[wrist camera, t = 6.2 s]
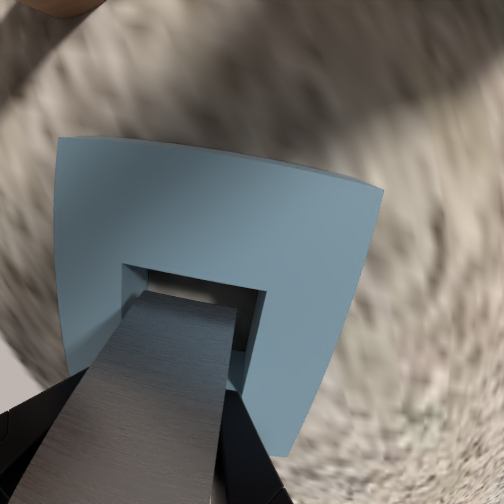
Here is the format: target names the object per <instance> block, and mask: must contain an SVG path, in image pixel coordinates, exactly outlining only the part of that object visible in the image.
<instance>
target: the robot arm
mask: <svg viewBox="0 0 504 504" xmlns="http://www.w3.org/2000/svg"><path fill="white" fill-rule="evenodd" d="M89 367H90V366H89ZM89 367H87V368H85V369H83V370H82V371H80V372H78V373H76V374H74V375H73V376H71V377H69V378H67V379H65V380H63V381H62V382H60V383H58V384H56V385H54V386H52V387H51V388H49V389H47V390H45V391H43V392H41V393H39V394H38V395H36V396H34V397H32V398H30V399H28V400H27V401H25V402H23V403H21V404H19V405H17V406H15V407H13V408H11V409H10V410H9V411H6V412H4V413H2V414H0V504H8V502H9V500H10V499H11V497H12V495H13V493H14V491H15V489H16V487H17V485H18V484H19V482H20V480H21V478H22V476H23V475H24V473H25V471H26V469H27V467H28V466H29V464H30V462H31V460H32V459H33V457H34V455H35V453H36V452H37V450H38V448H39V447H40V445H41V443H42V441H43V440H44V438H45V436H46V435H47V433H48V431H49V430H50V428H51V427H52V425H53V423H54V422H55V420H56V418H57V417H58V415H59V414H60V412H61V410H62V409H63V407H64V406H65V404H66V402H67V401H68V399H69V398H70V396H71V395H72V393H73V392H74V390H75V388H76V387H77V385H78V384H79V382H80V381H81V379H82V378H83V376H84V375H85V373H86V372H87V370H88V369H89ZM283 487H284V485H283V483H282V481H281V479H280V477H279V475H278V473H277V471H276V469H275V467H274V465H273V463H272V461H271V459H270V457H269V455H268V453H267V451H266V449H265V447H264V445H263V443H262V441H261V438H260V436H259V434H258V432H257V430H256V428H255V426H254V424H253V421H252V419H251V417H250V415H249V413H248V411H247V408H246V406H245V404H244V402H243V400H242V397H241V395H240V393H239V392H238V391H235V390H229V389H225V396H224V403H223V410H222V417H221V424H220V431H219V439H218V446H217V453H216V460H215V467H214V474H213V482H212V489H211V504H294V503H293V502H292V500H291V498H290V496H289V494H288V492H287V490H286V489H285V488H283Z"/></svg>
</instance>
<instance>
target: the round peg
mask: <svg viewBox="0 0 504 504" xmlns="http://www.w3.org/2000/svg"><path fill="white" fill-rule="evenodd" d="M16 1H18V2H20V3H23V4H25V5H27V6H30V7H32V8H34V9H36V10H39V11H41V12H43V13H45V14H47V15H50V16H52V17H54V18H60V19H65V18H72V17H76V16H79V15H82V14H84V13H86V12H89V11H90V10H92V9H94V8H96V7H97V6H99V5H100V4H102V3H103V2H105V1H106V0H16Z"/></svg>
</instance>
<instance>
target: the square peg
mask: <svg viewBox="0 0 504 504" xmlns="http://www.w3.org/2000/svg"><path fill="white" fill-rule="evenodd" d="M236 313H237V308H231V307H226V306H221V305H215V304H210V303H205V302H200V301H195V300H190V299H185V298H180V297H175V296H170V295H165V294H161V293H156V292H151V291H147V290H144V291H143V292H142V293H141V295H140V296H139V297H138V299H137V300H136V301H135V303H134V304H133V306H132V307H131V308H130V310H129V311H128V313H127V314H126V315H125V317H124V318H123V319H122V321H121V322H120V324H119V325H118V327H117V328H116V329H115V331H114V332H113V334H112V335H111V336H110V338H109V339H108V341H107V342H106V344H105V345H104V347H103V348H102V350H101V351H100V352H99V354H98V355H97V357H96V358H95V360H94V361H93V363H92V364H91V366H90V367H89V369H88V370H87V372H86V373H85V375H84V376H83V378H82V379H81V381H80V382H79V384H78V385H77V387H76V388H75V390H74V392H73V393H72V395H71V396H70V398H69V399H68V401H67V402H66V404H65V406H64V407H63V409H62V410H61V412H60V414H59V415H58V417H57V418H56V420H55V422H54V423H53V425H52V427H51V428H50V430H49V431H48V433H47V435H46V436H45V438H44V440H43V441H42V443H41V445H40V447H39V448H38V450H37V452H36V453H35V455H34V457H33V459H32V460H31V462H30V464H29V466H28V467H27V469H26V471H25V473H24V475H23V476H22V478H21V480H20V482H19V484H18V485H17V487H16V489H15V491H14V493H13V495H12V497H11V499H10V500H9V502H8V504H210V496H211V489H212V482H213V474H214V467H215V460H216V453H217V446H218V439H219V431H220V424H221V417H222V410H223V403H224V396H225V389H226V382H227V375H228V368H229V361H230V354H231V348H232V341H233V334H234V327H235V320H236Z"/></svg>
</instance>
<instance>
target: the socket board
mask: <svg viewBox="0 0 504 504" xmlns="http://www.w3.org/2000/svg"><path fill="white" fill-rule="evenodd" d="M383 193H384V190H382V189H380V188H378V187H375V186H373V185H371V184H368V183H366V182H364V181H361V180H359V179H356V178H353V177H349V176H345V175H341V174H337V173H332V172H328V171H324V170H320V169H315V168H311V167H306V166H302V165H297V164H292V163H287V162H283V161H278V160H273V159H267V158H262V157H257V156H251V155H246V154H240V153H234V152H228V151H222V150H216V149H210V148H203V147H196V146H189V145H182V144H174V143H166V142H158V141H149V140H139V139H129V138H118V137H106V136H82V137H59V138H58V146H57V157H56V170H55V187H54V258H55V275H56V288H57V299H58V308H59V317H60V324H61V331H62V338H63V344H64V350H65V356H66V362H67V367H68V372H69V377H71V376H73V375H74V374H76V373H78V372H80V371H82V370H83V369H85V368H87V367H89V366H91V364H92V363H93V361H94V360H95V358H96V357H97V355H98V354H99V352H100V351H101V350H102V348H103V347H104V345H105V344H106V342H107V341H108V339H109V338H110V336H111V335H112V334H113V332H114V331H115V329H116V328H117V327H118V325H119V324H120V322H121V321H122V319H123V318H124V317H125V315H126V314H127V313H128V311H129V310H130V308H131V307H132V306H133V304H134V303H135V301H136V300H137V299H138V297H139V296H140V295H141V293H142V292H143V291H144V290H148V272H149V269H153V270H158V271H163V272H168V273H173V274H178V275H183V276H188V277H193V278H198V279H203V280H208V281H214V282H219V283H224V284H230V285H235V286H241V287H246V288H252V289H257V290H259V292H258V296H257V301H256V306H255V310H254V315H253V319H252V324H251V328H250V333H249V337H248V342H247V346H246V351H245V352H243V351H237V350H231V354H230V361H229V368H228V375H227V382H226V389H229V390H235V391H238V392H239V393H240V395H241V397H242V400H243V402H244V404H245V406H246V408H247V411H248V413H249V415H250V417H251V419H252V421H253V424H254V426H255V428H256V430H257V432H258V434H259V436H260V438H261V441H262V443H263V445H264V447H265V449H266V451H267V453H268V455H269V456H279V457H287V456H288V454H289V452H290V450H291V448H292V446H293V444H294V442H295V440H296V437H297V435H298V433H299V431H300V429H301V427H302V425H303V423H304V420H305V418H306V416H307V414H308V412H309V409H310V407H311V405H312V402H313V400H314V398H315V396H316V393H317V391H318V389H319V386H320V384H321V381H322V379H323V377H324V374H325V372H326V369H327V367H328V364H329V362H330V359H331V357H332V354H333V352H334V349H335V346H336V344H337V341H338V338H339V336H340V333H341V330H342V328H343V325H344V322H345V319H346V316H347V314H348V311H349V308H350V305H351V302H352V299H353V296H354V293H355V290H356V287H357V284H358V281H359V278H360V275H361V271H362V268H363V265H364V262H365V258H366V255H367V252H368V248H369V245H370V242H371V238H372V234H373V231H374V227H375V224H376V220H377V216H378V212H379V209H380V205H381V201H382V197H383Z"/></svg>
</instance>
